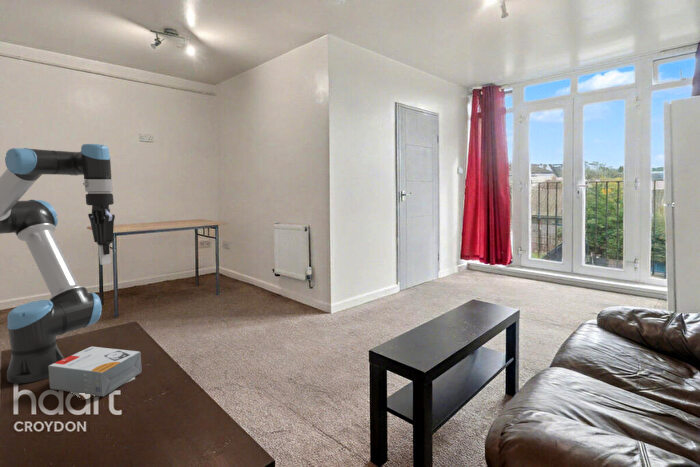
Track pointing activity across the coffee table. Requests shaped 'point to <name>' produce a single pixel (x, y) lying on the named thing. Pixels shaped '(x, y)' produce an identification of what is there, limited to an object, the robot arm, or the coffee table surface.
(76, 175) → the robot arm
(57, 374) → the hard drive box
